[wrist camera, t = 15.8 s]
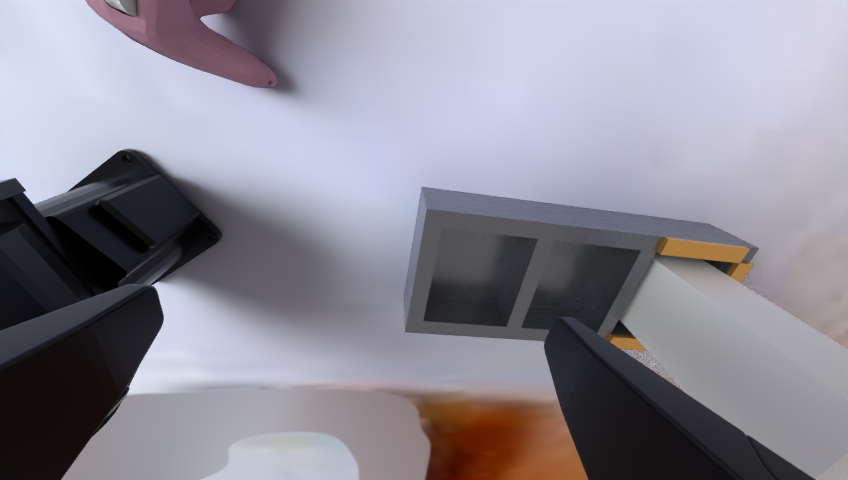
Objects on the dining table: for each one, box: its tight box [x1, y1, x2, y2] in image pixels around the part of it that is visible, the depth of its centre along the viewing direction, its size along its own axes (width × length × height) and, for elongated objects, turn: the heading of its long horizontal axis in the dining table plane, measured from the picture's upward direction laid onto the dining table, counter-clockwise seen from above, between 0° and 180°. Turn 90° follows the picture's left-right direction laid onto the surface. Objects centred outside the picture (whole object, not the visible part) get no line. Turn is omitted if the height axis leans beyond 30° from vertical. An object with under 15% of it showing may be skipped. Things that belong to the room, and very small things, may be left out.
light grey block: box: [619, 252, 848, 480], centre depth 17 cm, size 4×5×12 cm
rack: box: [404, 187, 759, 351], centre depth 21 cm, size 20×8×4 cm, turn 81°
